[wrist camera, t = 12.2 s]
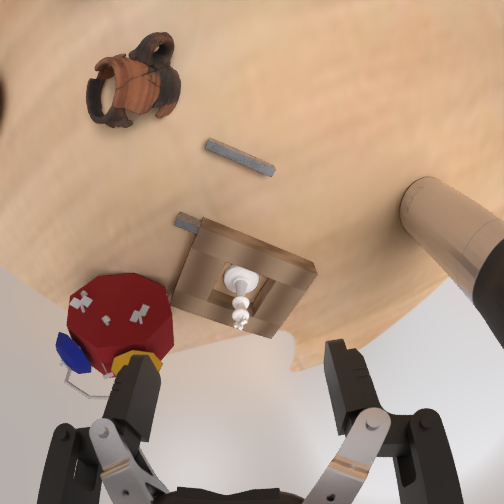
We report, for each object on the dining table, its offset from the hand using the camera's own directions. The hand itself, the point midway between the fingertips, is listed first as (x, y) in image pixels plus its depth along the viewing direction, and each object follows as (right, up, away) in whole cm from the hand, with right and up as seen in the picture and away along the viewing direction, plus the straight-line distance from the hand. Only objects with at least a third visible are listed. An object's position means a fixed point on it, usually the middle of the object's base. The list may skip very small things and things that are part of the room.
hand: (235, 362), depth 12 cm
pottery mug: (-11, +24, +15) cm, 31 cm away
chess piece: (-1, +1, +28) cm, 28 cm away
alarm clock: (-17, 0, +28) cm, 33 cm away
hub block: (-1, +1, +28) cm, 28 cm away
